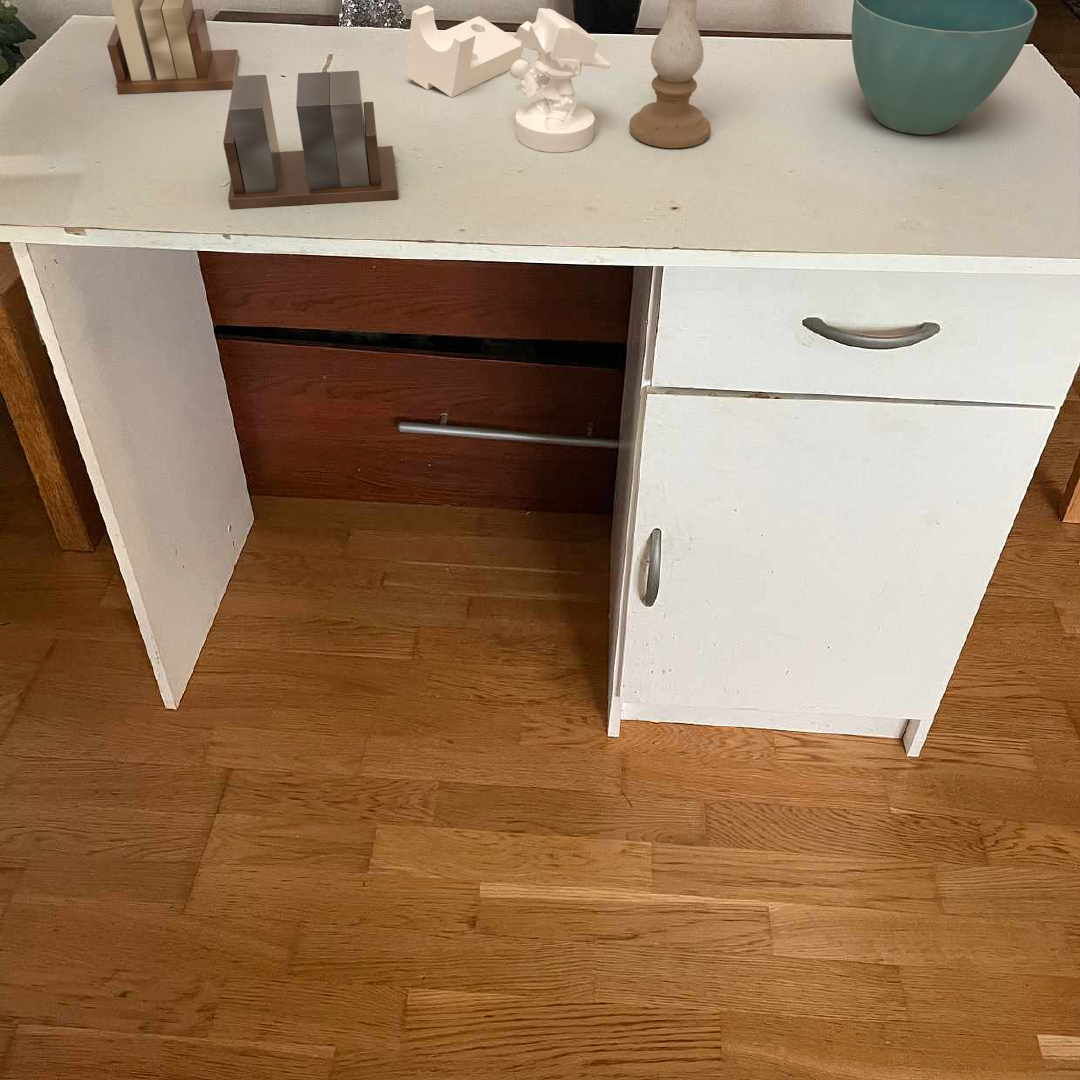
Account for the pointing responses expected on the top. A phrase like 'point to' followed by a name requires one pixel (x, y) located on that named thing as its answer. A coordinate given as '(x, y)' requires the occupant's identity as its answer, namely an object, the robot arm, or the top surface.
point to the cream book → (133, 38)
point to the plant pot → (934, 57)
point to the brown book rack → (175, 52)
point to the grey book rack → (306, 145)
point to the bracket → (457, 53)
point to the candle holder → (674, 84)
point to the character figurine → (554, 84)
